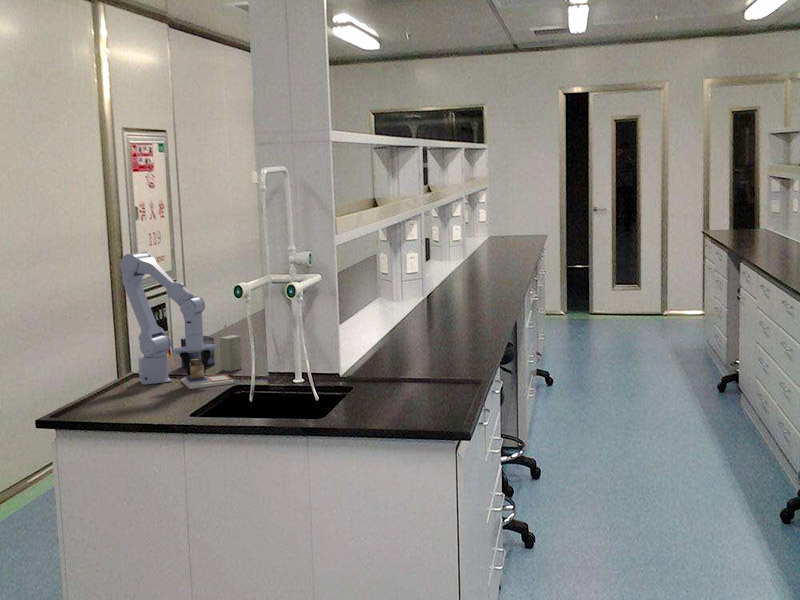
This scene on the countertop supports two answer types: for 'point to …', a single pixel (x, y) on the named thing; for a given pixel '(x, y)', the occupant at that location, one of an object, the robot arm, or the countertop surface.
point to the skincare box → (231, 352)
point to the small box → (197, 355)
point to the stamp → (196, 369)
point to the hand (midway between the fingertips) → (196, 373)
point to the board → (208, 381)
